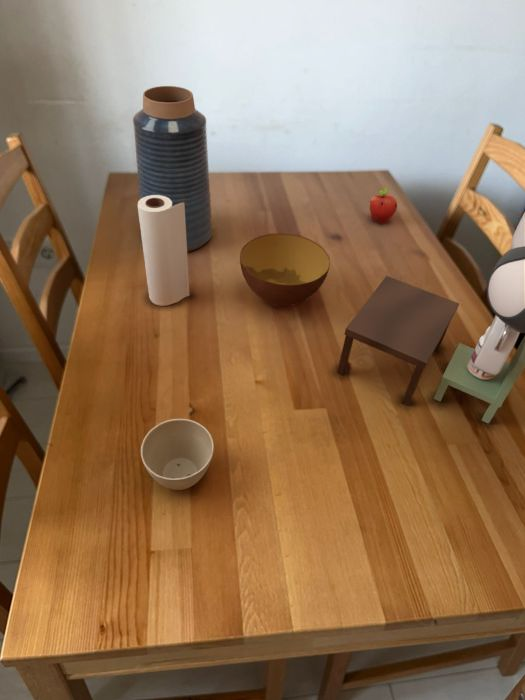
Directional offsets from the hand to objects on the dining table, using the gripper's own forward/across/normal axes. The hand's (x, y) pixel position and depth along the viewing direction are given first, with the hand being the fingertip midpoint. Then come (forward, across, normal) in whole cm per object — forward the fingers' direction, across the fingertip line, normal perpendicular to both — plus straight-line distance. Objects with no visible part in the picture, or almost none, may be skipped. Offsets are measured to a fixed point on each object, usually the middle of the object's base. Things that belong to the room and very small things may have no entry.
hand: (488, 357), depth 84 cm
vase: (+10, +10, +73) cm, 74 cm away
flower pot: (+10, -41, +32) cm, 53 cm away
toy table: (+10, 0, +15) cm, 18 cm away
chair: (+10, 0, 0) cm, 10 cm away
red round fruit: (+10, +46, +36) cm, 59 cm away
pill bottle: (+3, 0, 0) cm, 3 cm away
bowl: (+10, +4, +41) cm, 42 cm away
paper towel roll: (+10, -10, +60) cm, 62 cm away
